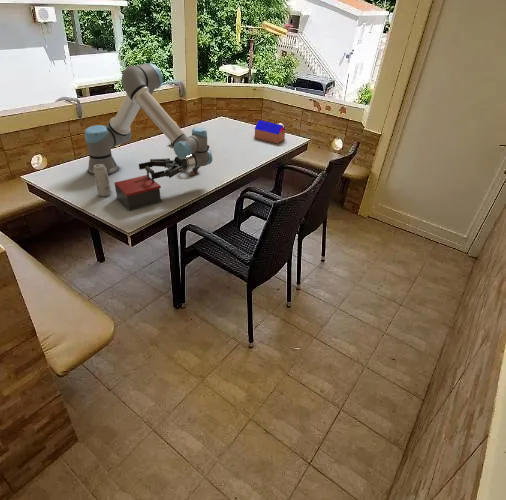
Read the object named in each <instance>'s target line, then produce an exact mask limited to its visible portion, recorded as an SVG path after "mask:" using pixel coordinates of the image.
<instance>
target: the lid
mask: <svg viewBox="0 0 506 500" xmlns="http://www.w3.org/2000/svg"><path fill="white" fill-rule="evenodd" d="M144 170H145V171H146V174H145V175H140V176H136V177H132V178H127V179H123V180H118V181H115V182H113V183H114V186H115V185H116V186H117V187H118V188H119V189H120V190H121V191H122V192H123V193H124V194H125V195H126V196H127V197H128V196H132V195H136V194H139V193H143V192H147V191H151V190H155V189H161V188H162V186H161V185H160V184H159V183H158V182H157V181H156V180H155V179H152V176H151V173H155V170H153V169H152V167H150V168H149V167H148V166H146V167H145V169H144ZM150 176H151V177H150Z"/></svg>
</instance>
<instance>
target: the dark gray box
mask: <svg viewBox="0 0 506 500" xmlns="http://www.w3.org/2000/svg"><path fill="white" fill-rule="evenodd" d="M114 188H115V194H116V198H117V200H119V201H120V202H121V203H122V204H123V205H124V206H125V207H126V208H127V210H128V211H132V210H135V209H139V208H142V207H147V206H149V205H154V204H156V203H161V202H162V199H161V198H162V197H161V191H160V190H161V188H159V189H155V190H151V191H147V192H143V193H139V194H136V195H132V196H128V197H127V196H126V195H125V194H124V193H123V192H122V191H121V190H120V189H119V188H118V187H117V186H116V185H115V184H114Z"/></svg>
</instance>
